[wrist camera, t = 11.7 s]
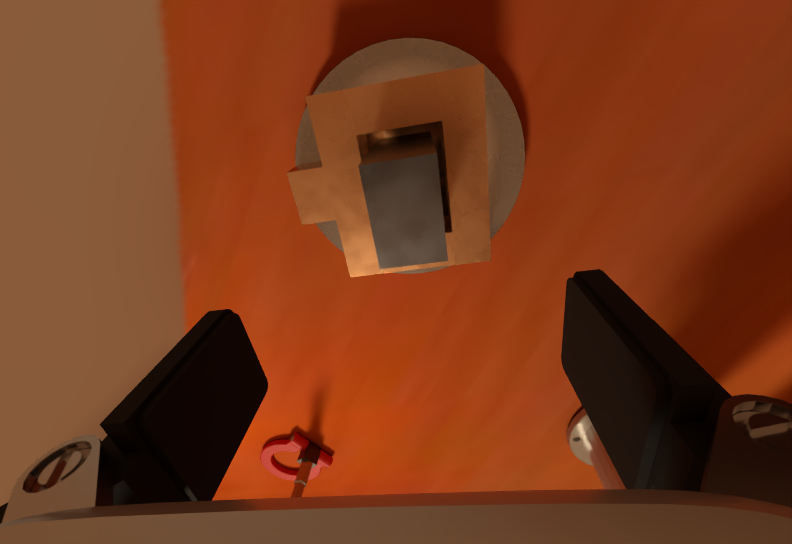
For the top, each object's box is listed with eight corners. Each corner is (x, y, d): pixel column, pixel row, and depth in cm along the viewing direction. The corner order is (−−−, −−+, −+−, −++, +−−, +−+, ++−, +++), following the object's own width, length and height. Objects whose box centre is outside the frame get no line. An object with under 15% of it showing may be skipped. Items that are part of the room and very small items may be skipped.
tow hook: (297, 479, 51) (339, 458, 48) (260, 593, 40) (311, 575, 36) (251, 450, 49) (292, 425, 45) (198, 563, 37) (246, 541, 34)
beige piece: (520, 16, 24) (547, -2, 19) (519, 253, 32) (537, 283, 27) (271, 65, 26) (238, 60, 21) (330, 276, 34) (316, 307, 29)
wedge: (429, 130, 26) (436, 153, 17) (438, 207, 29) (448, 261, 20) (377, 139, 26) (358, 165, 18) (390, 214, 29) (379, 269, 20)
